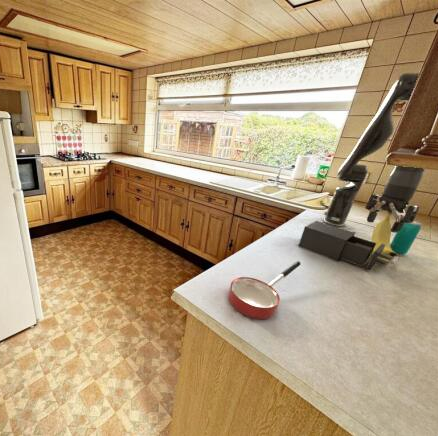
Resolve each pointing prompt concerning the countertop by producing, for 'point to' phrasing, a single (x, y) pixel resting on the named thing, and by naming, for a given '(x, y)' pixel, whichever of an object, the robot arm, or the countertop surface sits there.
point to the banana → (383, 238)
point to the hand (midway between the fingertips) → (381, 226)
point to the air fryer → (325, 239)
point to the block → (365, 247)
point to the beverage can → (405, 238)
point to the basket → (363, 252)
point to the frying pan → (256, 295)
